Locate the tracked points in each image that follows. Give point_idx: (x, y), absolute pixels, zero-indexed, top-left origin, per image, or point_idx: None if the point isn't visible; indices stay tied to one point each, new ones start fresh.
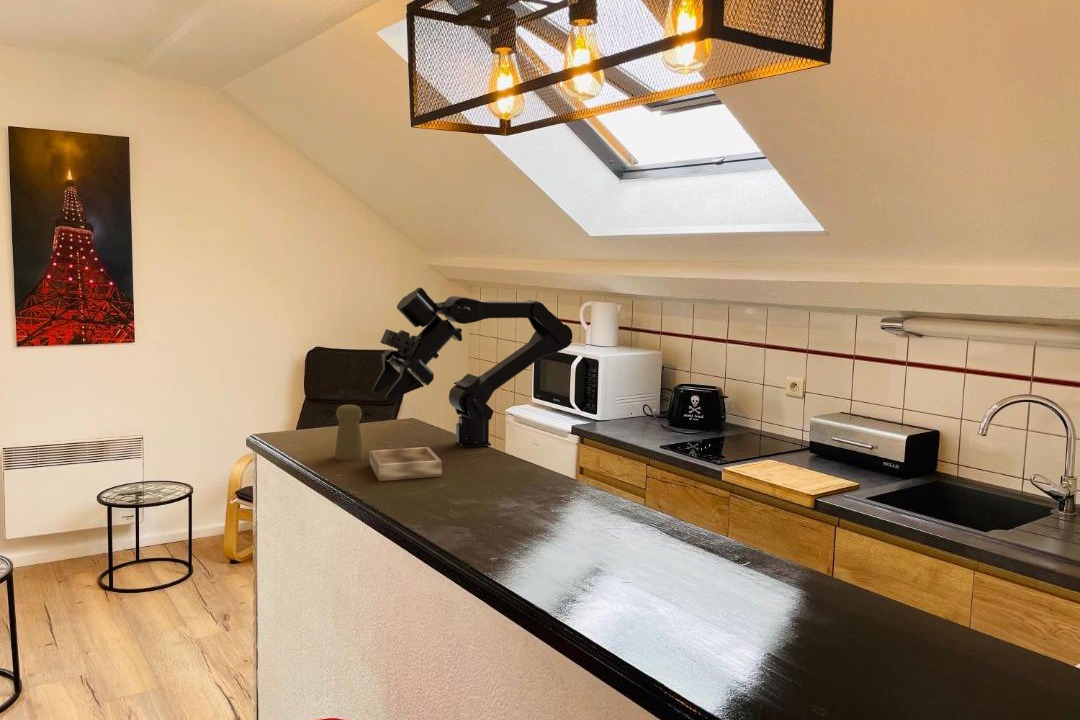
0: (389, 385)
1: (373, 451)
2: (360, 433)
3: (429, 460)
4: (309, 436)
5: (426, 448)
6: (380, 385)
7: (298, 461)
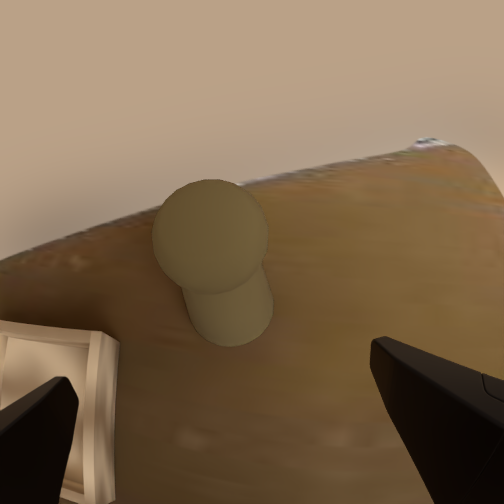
0: (420, 470)
1: (90, 340)
2: (205, 312)
3: None
4: (470, 226)
5: (79, 495)
6: (401, 398)
7: None
